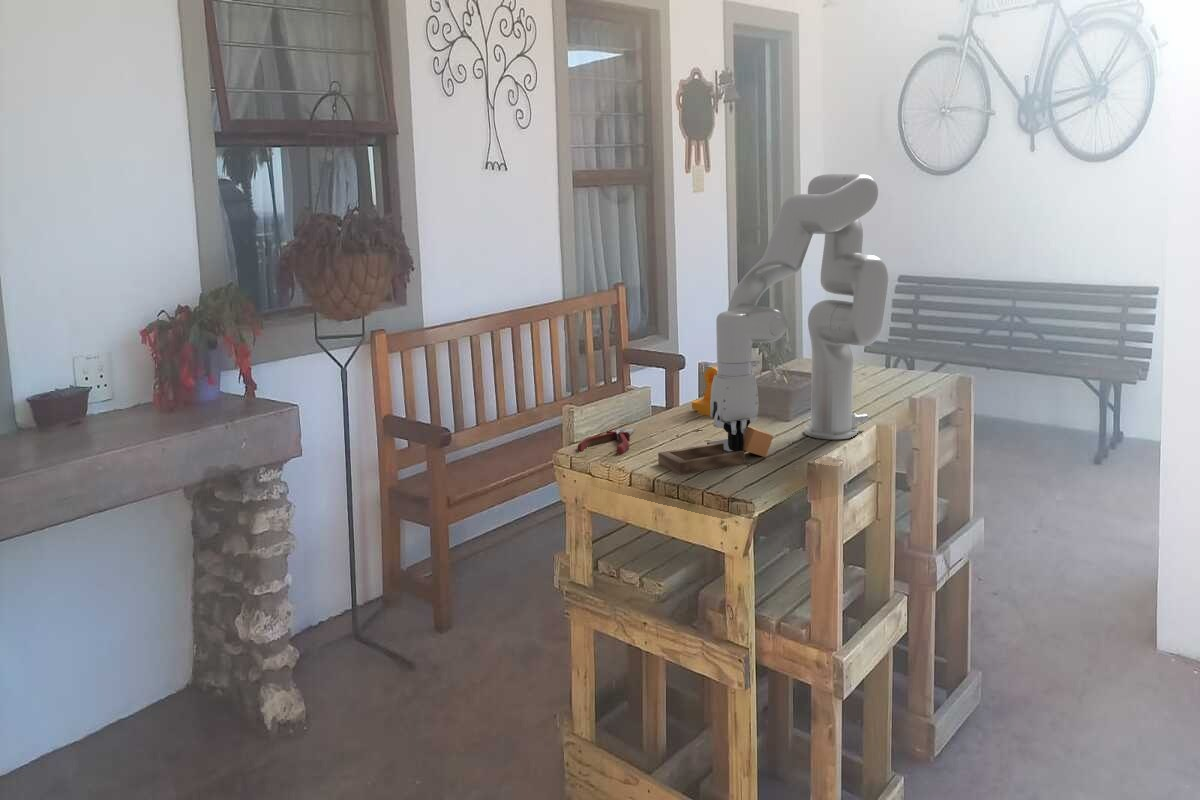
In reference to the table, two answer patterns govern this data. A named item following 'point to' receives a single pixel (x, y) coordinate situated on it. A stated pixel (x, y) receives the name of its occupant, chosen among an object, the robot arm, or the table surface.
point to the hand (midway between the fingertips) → (735, 449)
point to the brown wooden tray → (699, 458)
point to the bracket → (704, 403)
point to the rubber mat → (726, 447)
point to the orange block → (756, 441)
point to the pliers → (609, 440)
